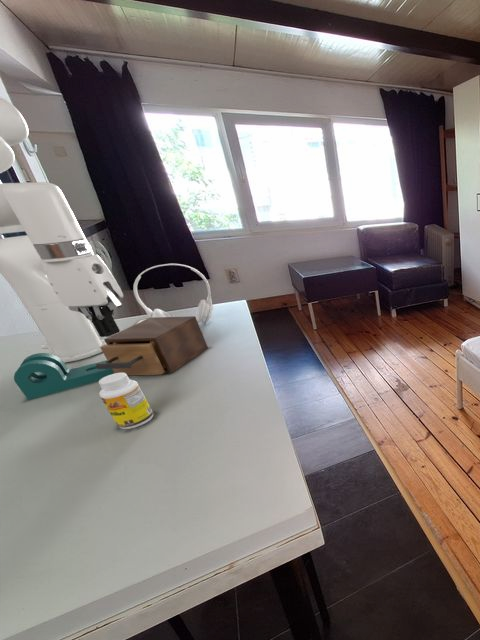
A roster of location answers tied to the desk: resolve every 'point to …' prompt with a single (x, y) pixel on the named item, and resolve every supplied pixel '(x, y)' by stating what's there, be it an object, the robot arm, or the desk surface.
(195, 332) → the cabinet
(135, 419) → the supplement bottle
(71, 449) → the desk surface
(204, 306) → the headphones
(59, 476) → the desk surface
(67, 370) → the bracket
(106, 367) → the drawer
